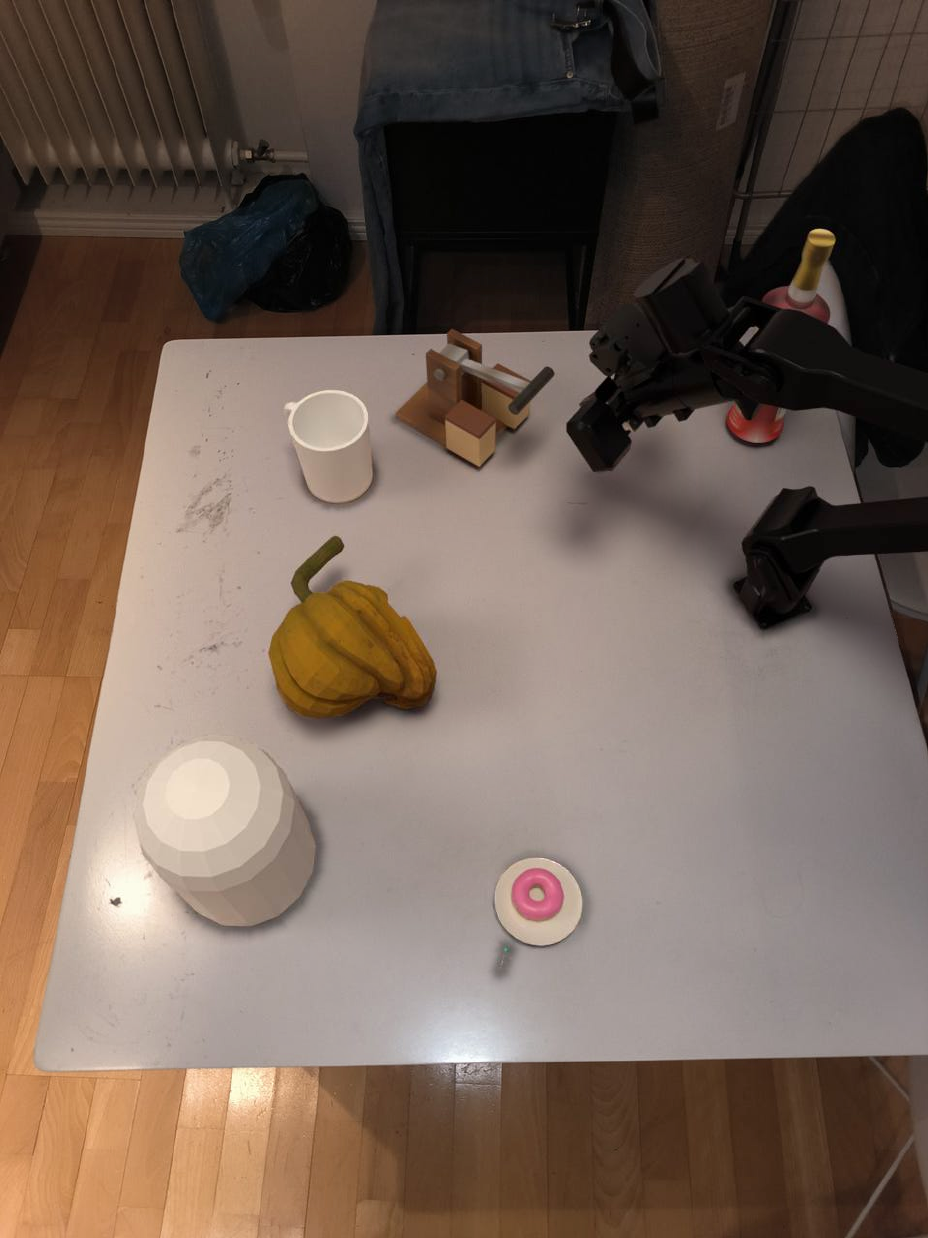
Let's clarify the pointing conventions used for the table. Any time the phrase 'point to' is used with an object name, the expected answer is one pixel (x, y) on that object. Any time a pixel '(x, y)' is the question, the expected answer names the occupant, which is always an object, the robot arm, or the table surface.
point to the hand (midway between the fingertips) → (582, 405)
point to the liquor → (796, 298)
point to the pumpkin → (346, 648)
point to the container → (225, 830)
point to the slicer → (445, 391)
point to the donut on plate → (538, 901)
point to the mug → (332, 444)
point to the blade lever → (501, 377)
